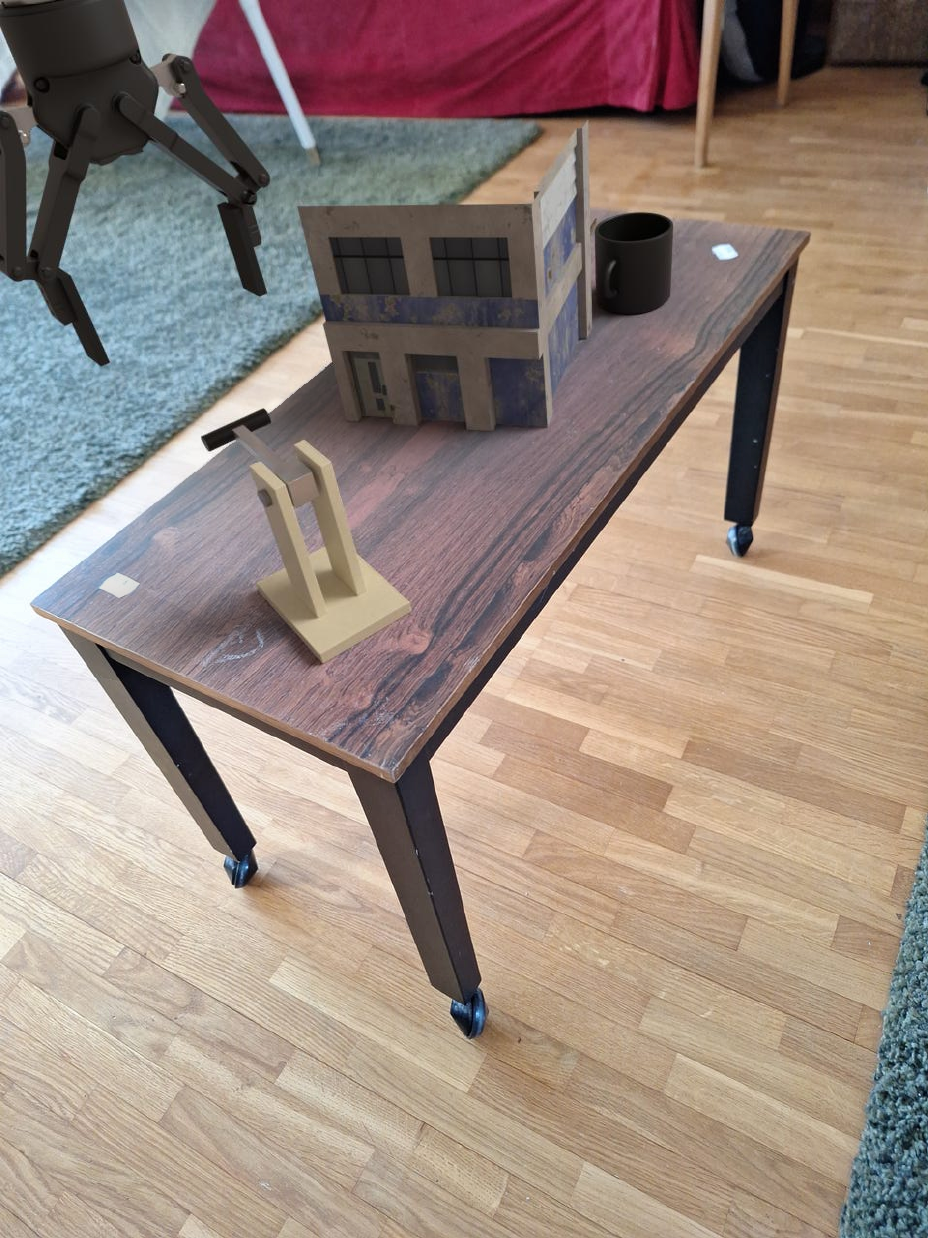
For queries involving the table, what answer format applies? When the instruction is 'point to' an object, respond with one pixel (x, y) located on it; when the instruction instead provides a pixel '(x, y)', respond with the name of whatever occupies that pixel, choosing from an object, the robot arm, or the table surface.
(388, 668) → the table surface
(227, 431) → the lever
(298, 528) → the bracket
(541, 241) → the building
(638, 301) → the mug
